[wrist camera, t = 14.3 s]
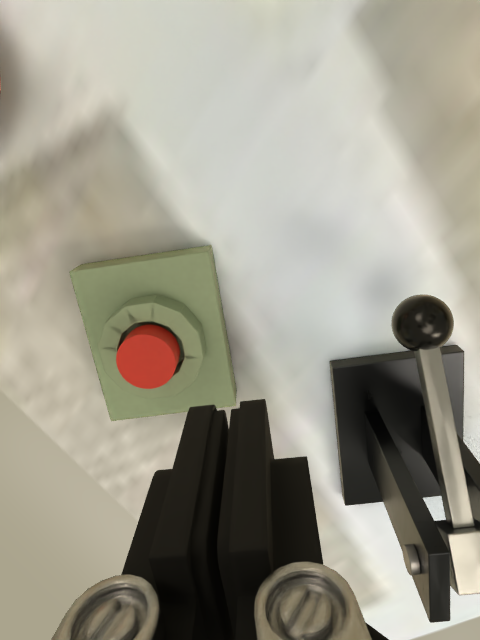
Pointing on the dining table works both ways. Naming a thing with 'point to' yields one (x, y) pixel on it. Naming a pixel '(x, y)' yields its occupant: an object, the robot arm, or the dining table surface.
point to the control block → (165, 311)
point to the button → (148, 356)
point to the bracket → (400, 457)
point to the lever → (442, 433)
